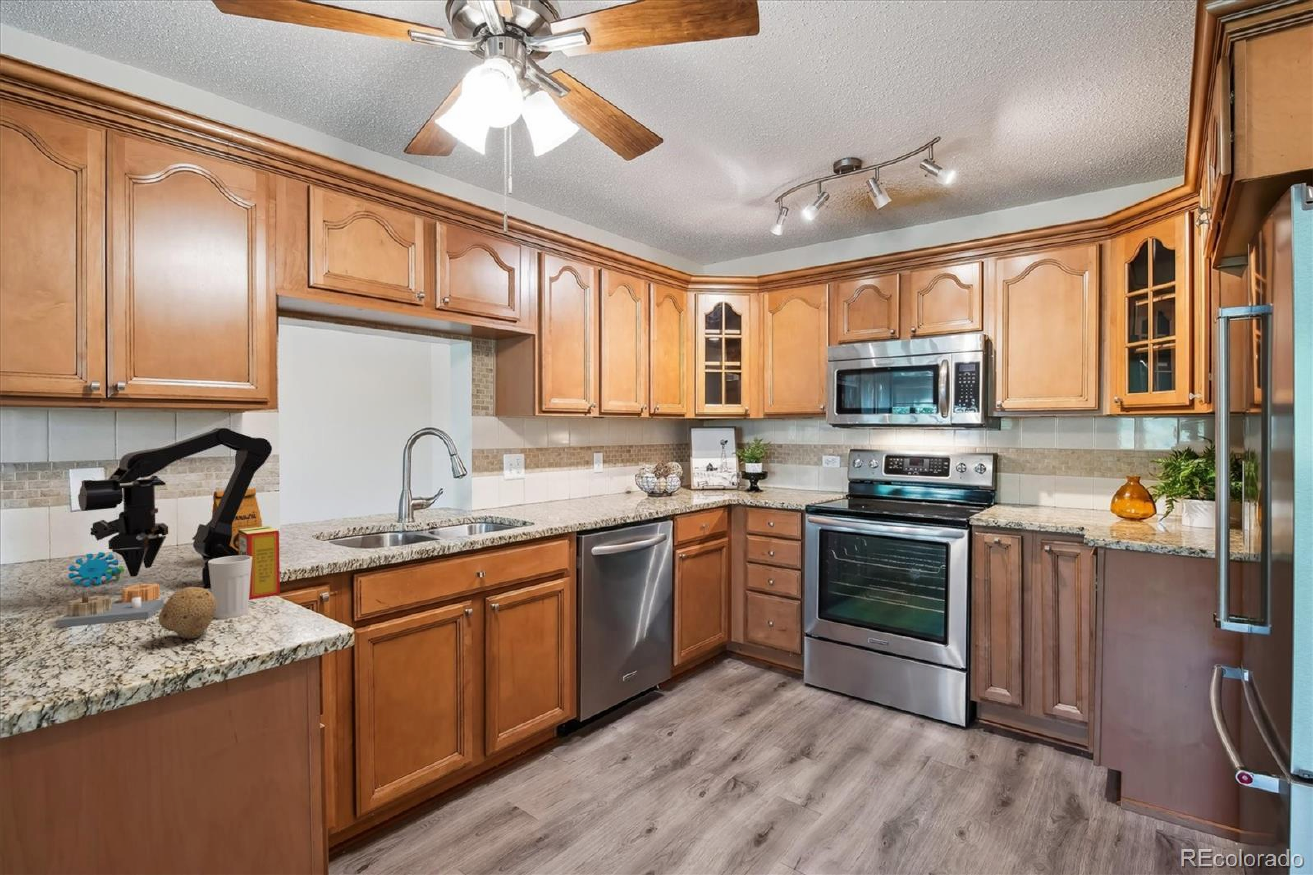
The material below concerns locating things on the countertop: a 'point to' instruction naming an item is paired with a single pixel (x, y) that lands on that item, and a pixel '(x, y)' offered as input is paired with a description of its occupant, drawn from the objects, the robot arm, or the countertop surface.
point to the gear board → (116, 613)
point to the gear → (95, 569)
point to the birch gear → (89, 605)
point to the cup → (230, 585)
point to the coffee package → (242, 514)
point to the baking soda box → (261, 559)
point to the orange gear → (141, 592)
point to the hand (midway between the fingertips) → (141, 572)
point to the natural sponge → (188, 612)
